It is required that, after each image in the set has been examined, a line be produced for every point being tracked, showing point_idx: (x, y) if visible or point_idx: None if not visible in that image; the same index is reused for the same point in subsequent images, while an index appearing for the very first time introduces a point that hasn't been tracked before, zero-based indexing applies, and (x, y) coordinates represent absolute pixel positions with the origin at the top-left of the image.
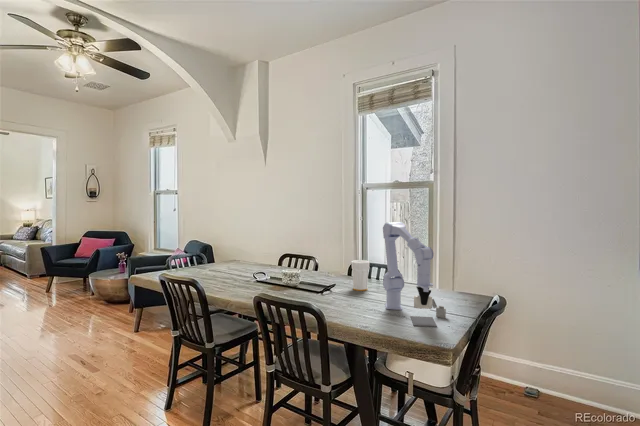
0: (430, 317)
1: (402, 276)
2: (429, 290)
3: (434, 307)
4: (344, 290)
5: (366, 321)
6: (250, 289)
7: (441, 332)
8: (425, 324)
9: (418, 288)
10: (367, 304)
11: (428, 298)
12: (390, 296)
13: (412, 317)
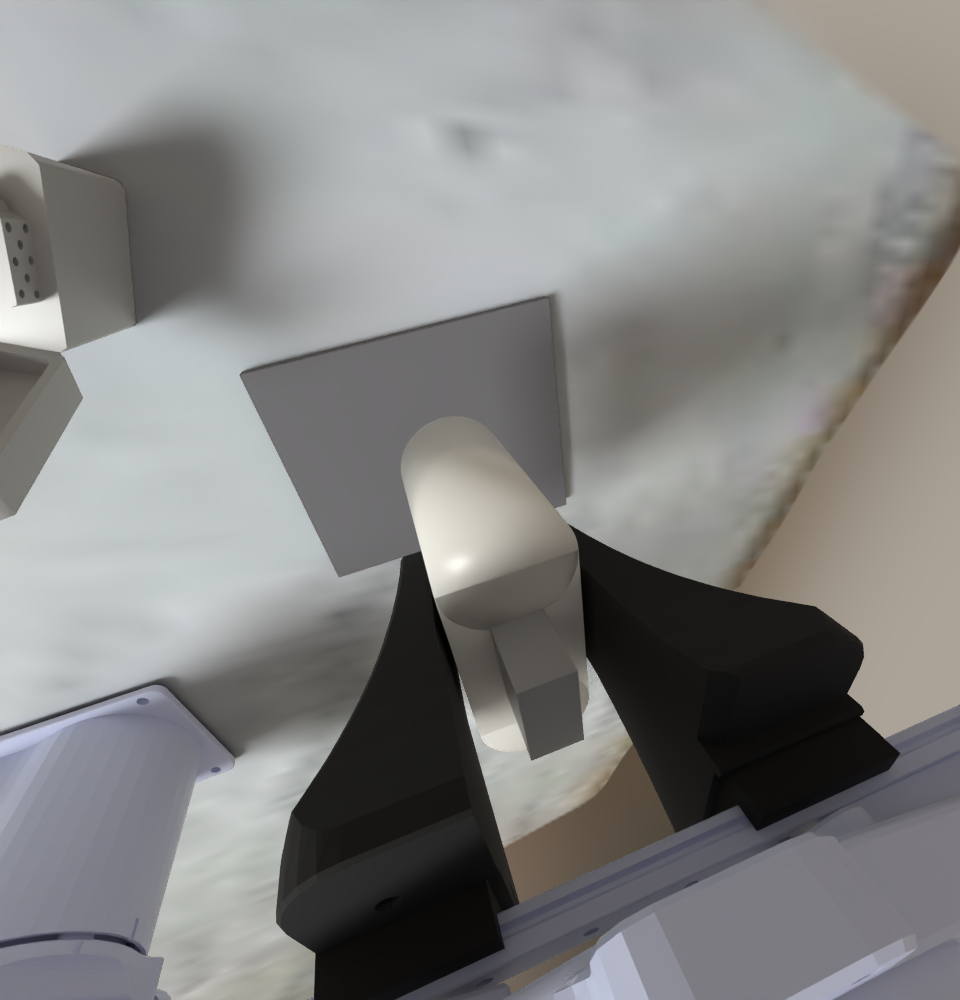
0: (272, 395)
1: None
2: (789, 684)
3: (70, 384)
4: None
5: None
6: None
7: (669, 247)
8: (529, 418)
9: (514, 888)
10: (195, 863)
11: (573, 552)
12: (166, 884)
13: (374, 554)
